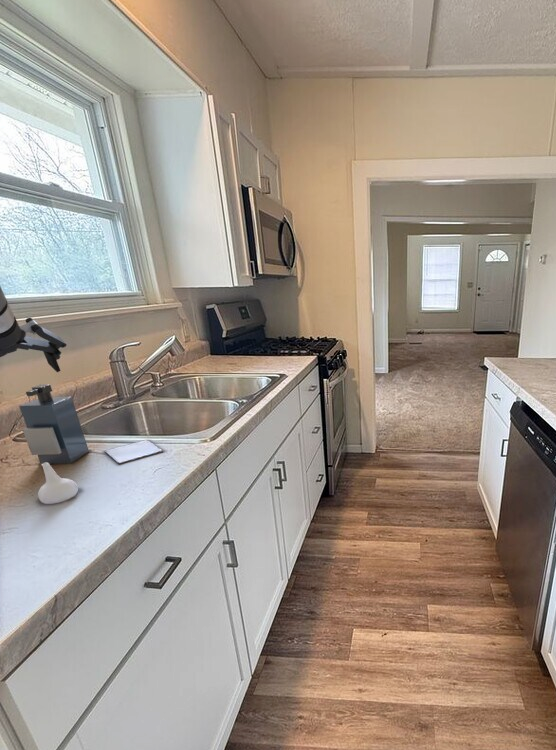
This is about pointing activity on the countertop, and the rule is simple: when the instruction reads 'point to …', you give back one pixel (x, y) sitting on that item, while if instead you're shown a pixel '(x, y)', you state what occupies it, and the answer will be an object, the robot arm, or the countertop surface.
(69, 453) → the soap dispenser
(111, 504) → the countertop surface
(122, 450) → the flat dark-edged slab
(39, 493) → the garlic bulb
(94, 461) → the countertop surface
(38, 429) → the dispenser paddle
